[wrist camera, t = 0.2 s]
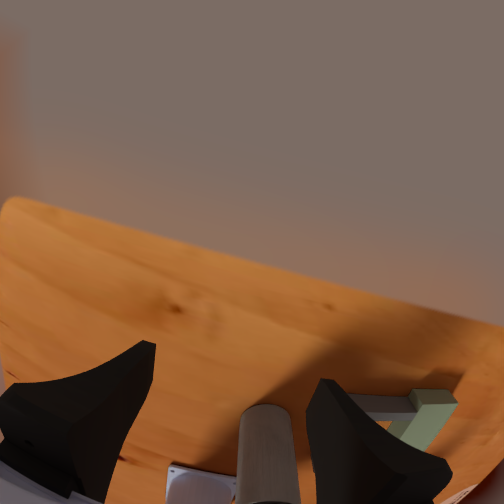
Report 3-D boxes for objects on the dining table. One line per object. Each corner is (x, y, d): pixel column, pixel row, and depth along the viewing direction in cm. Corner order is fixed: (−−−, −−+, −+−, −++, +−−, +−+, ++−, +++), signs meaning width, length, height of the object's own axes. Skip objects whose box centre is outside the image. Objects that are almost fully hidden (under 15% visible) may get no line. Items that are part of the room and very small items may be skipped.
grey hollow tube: (248, 439, 25) (246, 529, 15) (233, 408, 24) (224, 506, 14) (295, 430, 25) (307, 520, 15) (283, 398, 24) (294, 497, 14)
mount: (399, 458, 27) (405, 473, 24) (307, 460, 26) (310, 477, 24) (447, 389, 24) (458, 403, 22) (349, 384, 24) (356, 402, 21)
